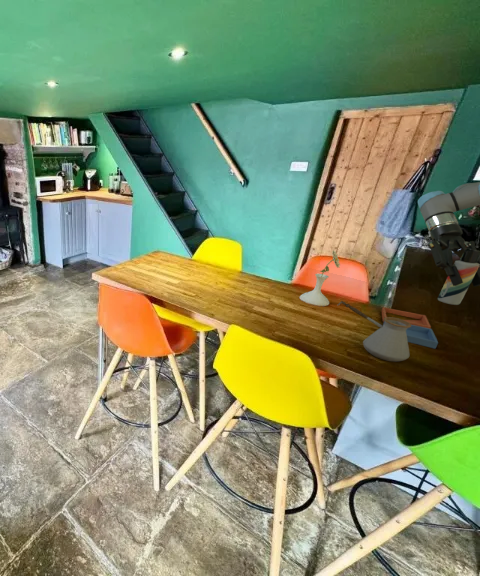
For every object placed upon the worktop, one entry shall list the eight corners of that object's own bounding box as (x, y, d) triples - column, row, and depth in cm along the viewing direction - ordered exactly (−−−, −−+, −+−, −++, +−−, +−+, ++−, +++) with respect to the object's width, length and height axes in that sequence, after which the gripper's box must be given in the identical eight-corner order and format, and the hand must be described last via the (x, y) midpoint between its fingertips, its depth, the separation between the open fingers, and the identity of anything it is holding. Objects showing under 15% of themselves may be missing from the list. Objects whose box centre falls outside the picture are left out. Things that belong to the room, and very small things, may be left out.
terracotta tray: (423, 320, 122) (425, 315, 121) (428, 332, 114) (431, 326, 113) (380, 312, 130) (382, 307, 129) (382, 322, 121) (384, 317, 120)
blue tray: (429, 334, 112) (432, 328, 111) (435, 348, 104) (438, 342, 103) (382, 324, 120) (385, 318, 119) (385, 336, 111) (387, 330, 110)
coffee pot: (406, 356, 100) (426, 316, 94) (405, 371, 93) (426, 328, 87) (329, 331, 114) (342, 295, 108) (322, 343, 107) (336, 305, 101)
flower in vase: (318, 310, 132) (336, 256, 122) (293, 300, 142) (308, 249, 132) (335, 305, 137) (354, 252, 128) (310, 296, 147) (326, 246, 137)
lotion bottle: (432, 298, 113) (456, 246, 106) (448, 298, 113) (473, 246, 105) (448, 305, 108) (474, 251, 100) (464, 305, 108) (492, 251, 100)
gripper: (461, 234, 116) (487, 289, 107) (407, 233, 118) (428, 287, 109) (482, 223, 109) (512, 281, 100) (425, 222, 111) (448, 279, 102)
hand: (468, 284), depth 104 cm, fingers closed on lotion bottle, 6 cm apart
